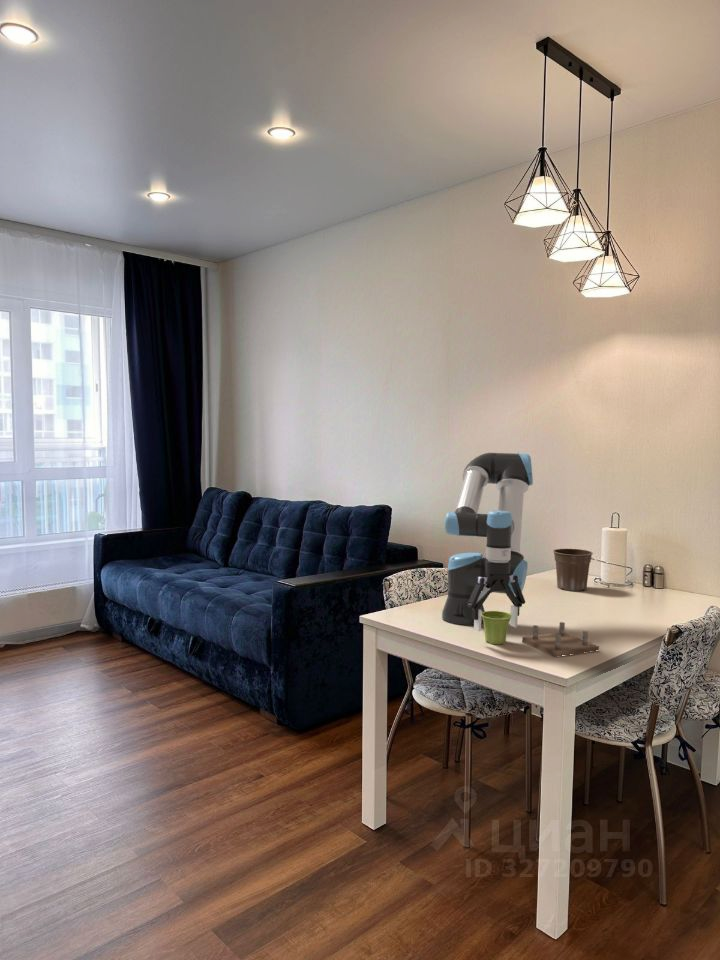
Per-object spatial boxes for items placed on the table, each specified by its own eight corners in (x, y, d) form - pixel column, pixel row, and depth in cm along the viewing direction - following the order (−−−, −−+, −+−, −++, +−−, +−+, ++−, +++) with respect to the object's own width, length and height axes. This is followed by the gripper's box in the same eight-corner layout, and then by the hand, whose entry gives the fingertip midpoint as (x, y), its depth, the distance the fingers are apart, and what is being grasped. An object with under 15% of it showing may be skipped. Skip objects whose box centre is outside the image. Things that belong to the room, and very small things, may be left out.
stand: (522, 641, 211) (522, 624, 211) (562, 636, 218) (563, 619, 217) (556, 657, 197) (557, 638, 196) (598, 651, 203) (599, 633, 203)
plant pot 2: (557, 592, 283) (558, 554, 282) (547, 583, 299) (549, 547, 298) (596, 593, 282) (597, 555, 281) (584, 584, 298) (586, 548, 297)
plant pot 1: (509, 647, 205) (510, 619, 204) (478, 644, 207) (479, 617, 207) (511, 639, 214) (512, 612, 213) (481, 636, 216) (482, 609, 216)
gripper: (470, 564, 201) (468, 634, 201) (538, 560, 211) (535, 627, 212) (457, 560, 207) (455, 628, 208) (523, 557, 218) (520, 622, 218)
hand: (495, 628), depth 210 cm, fingers open, 13 cm apart
